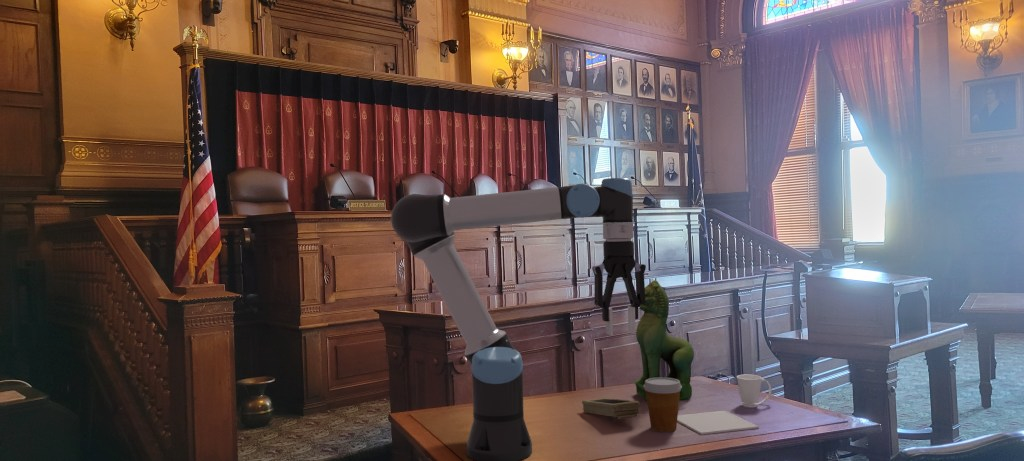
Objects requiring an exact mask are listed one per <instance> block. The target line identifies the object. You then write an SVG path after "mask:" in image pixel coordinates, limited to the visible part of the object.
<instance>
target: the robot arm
mask: <svg viewBox="0 0 1024 461" xmlns="http://www.w3.org/2000/svg"><path fill="white" fill-rule="evenodd" d="M633 194H634V193H633V184H632V180H631V179H629V178H628V177H610V178H608V177H607V178H603V179H602V180H601V184H600V185H599V186H595V187H594V186H592V185H591V184H588V183H578V184H574V185H573V184H572V185H566V186H565V185H564V186H555V187H545V188H535V189H525V190H516V191H509V192H508V191H505V192H498V193H497V192H496V193H488V194H487V193H486V194H477V195H476V194H475V195H466V196H457V197H456V196H455V197H450V196H448V195H447V194H445V193H443V194H420V193H412V194H407V195H405V196H403V197H402V198H400V199H399V200H398V201H397V202H396V203H395V204H394V206H393V208H392V211H391V214H390V215H391V216H390V219H391V220H390V222H391V225H392V228H393V231H394V232H395V233H396V235H397V236H398V237H400V239H403V241H405V242H406V243H407V246H408V247H409V250H410V252H411V254H412V255H413V257H414V258H417V259H420V260H422V261H423V264H424V265H425V267H426V269H427V271H428V273H429V276H430V277H431V279H432V281H433V283H434V285H435V287H436V288H437V290H438V293H439V294H440V297H441V298H442V301H443V302H444V304H445V306H446V308H447V310H448V312H449V314H450V315H451V318H452V319H453V321H454V324H455V326H456V327H457V329H458V331H459V333H460V335H461V337H462V339H463V341H464V342H465V344H466V345H465V347H466V348H465V349H464V350H465V351H464V356H465V358H466V360H467V361H468V363H469V366H470V370H471V380H472V381H471V382H472V384H471V385H472V408H473V409H472V414H473V416H472V417H473V419H472V420H473V421H472V423H471V428H470V431H469V435H468V438H467V441H466V456H467V457H468V458H469V459H471V460H473V461H521V460H524V459H527V458H528V457H530V456H531V455H532V453H533V441H532V439H531V435H530V432H529V430H528V427H527V424H526V422H525V417H524V385H523V384H524V383H523V382H524V380H523V373H524V372H523V371H524V362H523V359H522V357H523V356H522V355H521V353H520V352H519V351H518V350H517V349H516V348H515V347H514V345H513V344H512V341H511V340H510V337H509V336H508V333H507V332H506V331H504V330H501V329H499V328H497V326H496V324H495V322H494V320H493V318H492V316H491V314H490V312H489V311H488V308H487V307H486V304H485V303H484V301H483V298H482V297H481V295H480V293H479V291H478V290H477V288H476V285H475V284H474V281H473V280H472V277H471V276H470V274H469V272H468V270H467V268H466V265H465V263H464V261H462V258H461V256H460V255H459V253H458V251H457V248H456V247H455V244H454V243H455V242H454V241H455V239H456V238H455V237H456V233H455V232H454V231H463V230H471V229H480V228H488V227H489V228H490V227H498V226H499V227H500V226H509V225H519V224H520V225H521V224H527V223H529V224H530V223H536V222H547V221H556V220H567V219H569V220H570V219H577V218H578V219H579V218H582V219H583V218H600V217H602V239H604V240H605V241H603V243H602V244H603V246H602V248H603V260H602V263H601V264H598V265H593V266H592V267H591V269H592V272H593V275H594V288H593V289H594V293H593V294H594V300H593V301H594V302H593V303H594V305H595V306H598V307H599V308H601V314H602V316H601V317H602V321H603V322H605V334H606V335H609V336H614V324H613V323H614V322H613V320H614V319H613V318H614V316H613V313H614V311H613V308H611V307H610V306H611V302H612V297H613V292H614V288H615V283H616V281H617V279H620V278H622V281H623V283H624V287H625V290H626V292H627V296H628V300H629V303H630V306H627V325H628V326H627V329H628V330H627V333H628V334H629V333H630V334H632V335H633V334H635V335H636V330H637V327H636V320H638V319H639V306H640V305H641V304H644V303H645V287H646V286H645V272H646V268H647V267H646V264H643V263H638V262H636V260H635V243H634V241H633V240H632V239H634V201H633V200H634V199H633V198H634V195H633ZM604 270H605V271H606V273H607V274H606V275H607V276H606V283H605V287H604V289H603V285H604V284H603V281H604V280H603V279H604V278H603V277H604V276H603V274H604ZM633 270H634V271H635V286H636V288H635V286H634V282H633V276H632V272H633ZM603 290H604V292H603Z"/></svg>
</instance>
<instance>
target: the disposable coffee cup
mask: <svg viewBox="0 0 1024 461" xmlns="http://www.w3.org/2000/svg"><path fill="white" fill-rule="evenodd" d="M644 388H645V390H646V397H647V400H646V402H647V409H648V410H647V411H648V416H649V423H650V429H651V430H653V431H655V432H656V431H657V432H661V433H663V432H665V433H668V432H669V433H670V432H674V431H676V430H677V424H678V422H677V417H678V415H679V406H680V401H679V397H680V391H681V388H682V386H681V384H680V381H679V380H677V379H673V378H665V377H660V378H650V379H647V380H646V381H645V385H644Z"/></svg>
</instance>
